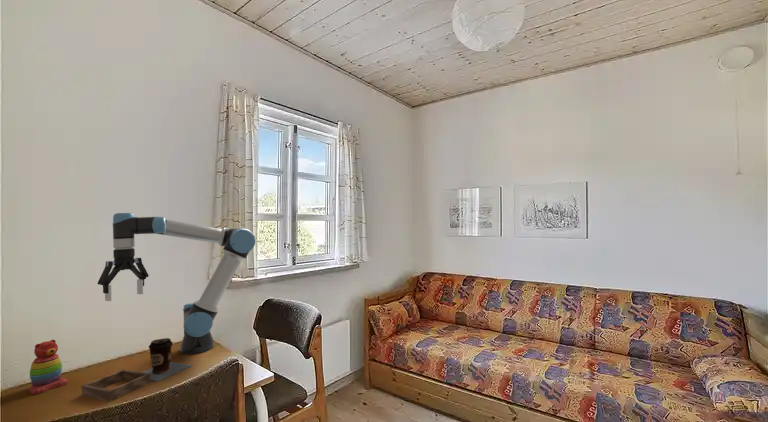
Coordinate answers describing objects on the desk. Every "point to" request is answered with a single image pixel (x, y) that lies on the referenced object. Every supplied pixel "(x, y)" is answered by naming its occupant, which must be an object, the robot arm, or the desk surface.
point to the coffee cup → (160, 355)
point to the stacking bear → (46, 368)
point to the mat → (173, 370)
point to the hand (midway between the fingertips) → (124, 297)
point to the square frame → (98, 391)
